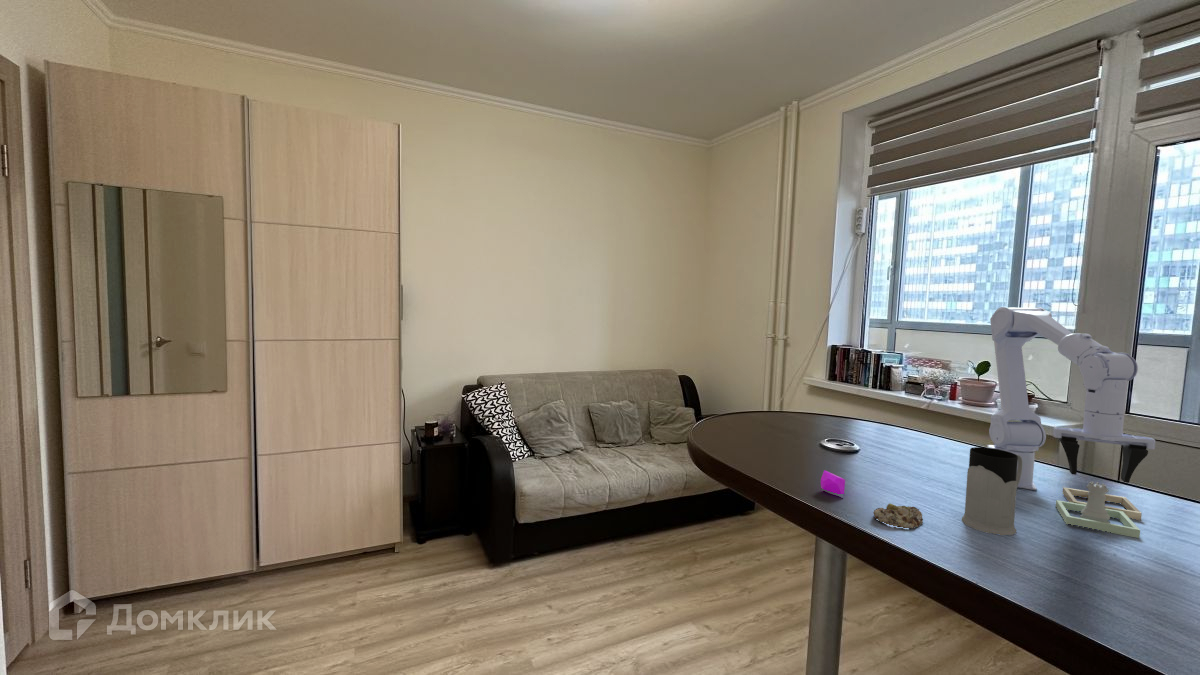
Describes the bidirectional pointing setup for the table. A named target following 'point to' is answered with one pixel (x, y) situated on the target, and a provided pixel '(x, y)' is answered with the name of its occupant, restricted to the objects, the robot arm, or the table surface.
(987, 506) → the beige black oval cylinder
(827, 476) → the crystal
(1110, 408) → the robot arm
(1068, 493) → the beige square frame
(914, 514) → the mineral rock
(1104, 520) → the rook chess piece
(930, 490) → the table surface
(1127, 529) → the sage square frame
